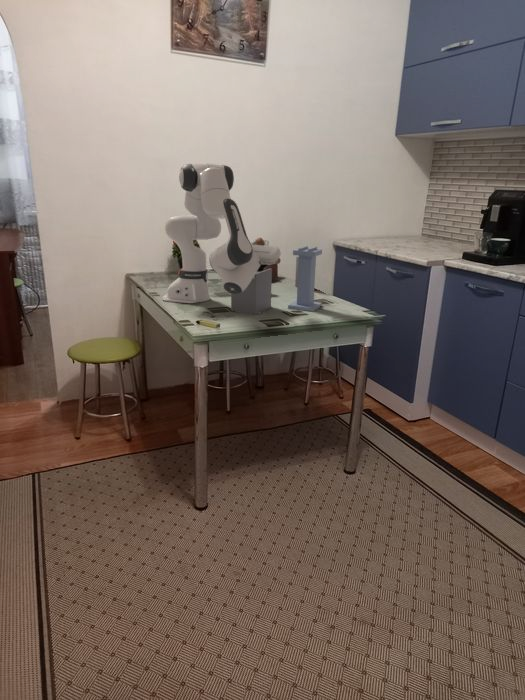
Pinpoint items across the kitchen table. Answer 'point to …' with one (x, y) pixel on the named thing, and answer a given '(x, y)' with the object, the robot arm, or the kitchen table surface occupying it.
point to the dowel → (261, 242)
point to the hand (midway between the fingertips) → (262, 241)
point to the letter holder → (272, 266)
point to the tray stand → (254, 294)
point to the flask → (296, 271)
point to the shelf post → (306, 279)
